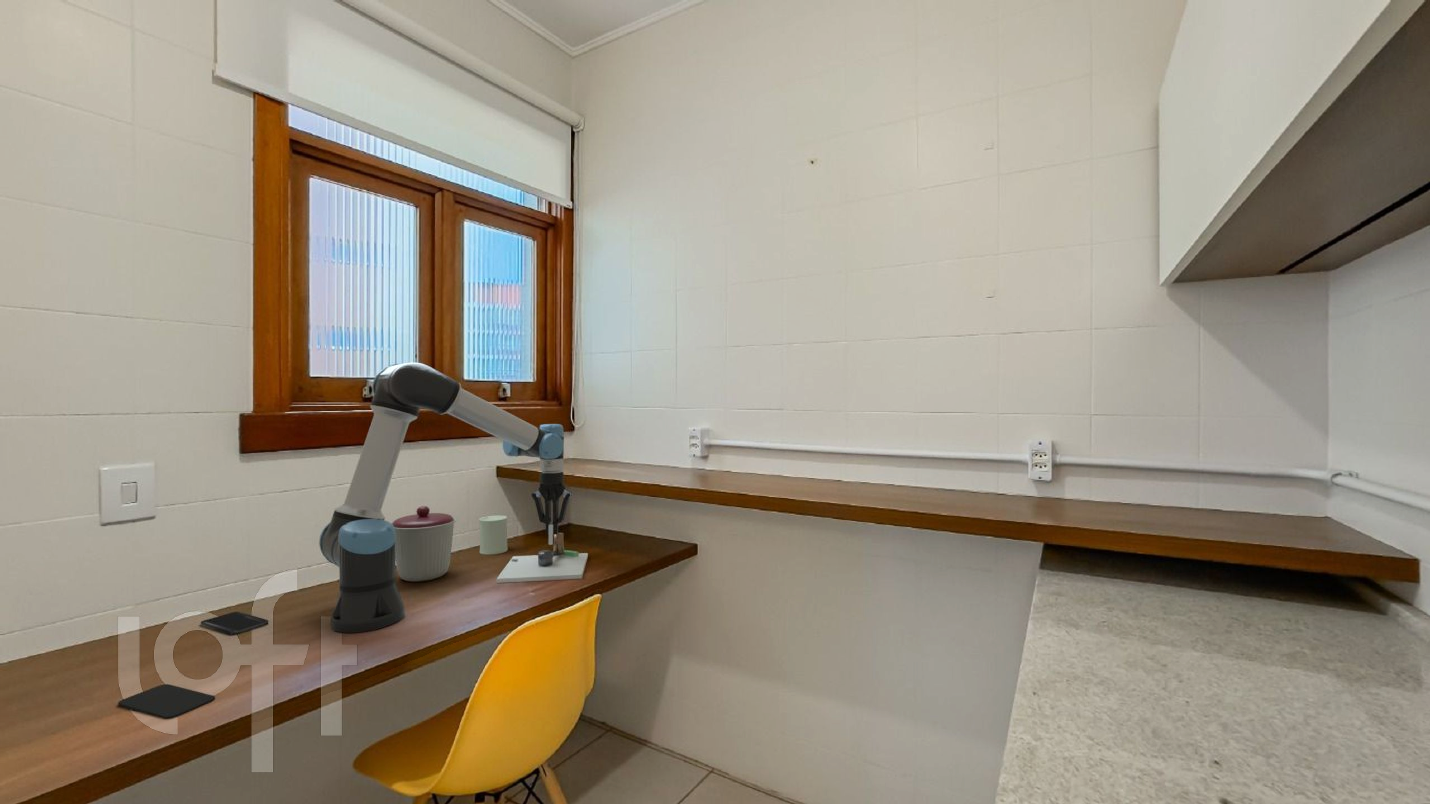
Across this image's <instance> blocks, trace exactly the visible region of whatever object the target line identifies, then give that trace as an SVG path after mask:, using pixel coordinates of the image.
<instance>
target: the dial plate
mask: <svg viewBox="0 0 1430 804" xmlns="http://www.w3.org/2000/svg"><path fill="white" fill-rule="evenodd" d="M588 556H589V553H587V552H584V553H583V552H581V553H580V552H579V551H576V550H566V549H565V550H564V555H561V556H554V557H553V564H552V565H549V566H539V565H538V554H537V555H536V554H535V555H514V556H512V557H511V558H510V560H509V562H508V563H507V564H506V565H505V567H504V568H503V569H502V571H501V572H500V574H499V575H498V576H497V578H496V584H503V583H523V582H541V581H558V580H560V581H561V580H577V579H578V580H579V579H580V580H582V578H583V576H584V572H585V568H586V565H587V560H588Z"/></svg>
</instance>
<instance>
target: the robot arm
mask: <svg viewBox="0 0 1430 804" xmlns="http://www.w3.org/2000/svg"><path fill="white" fill-rule="evenodd" d="M372 391H373V397H372V399H371V403H370V406H369V407H370V409H371V410H372V412H373V417H372V419H371V423H370V426H369V429H368V432H367V433H366V434H367V435H366V438H365V440H364V444H363V446H362V449H361V451H360V452H361V453H360V455H359V458H358V461H357V465H356V468H355V470H354V473H353V476H352V479H351V482H350V486H349V488H348V490H347V493H346V497H345V500H344V503H343V504H342V505H340V506H338V507H336V508H334V511H333V515H332V516H331V519H330V522H328V524H326V526H324V528H323V529H322V531H321V533H320V536H319V540H318V544H319V546H318V547H319V548H320V549H319V550H320V552H321V554H322V555H323V557H324V558H325V560H327V561H328V562H329V563H330V564H333V565H334V566H337V567H338V568H339V573H338V574H339V594H338V597H337V600H336V604H335V606H334V609H333V612H332V615H331V620H330V621H331V624H330V625H331V630H333V631H335V632H338V633H348V634H349V633H350V634H351V633H353V634H354V633H362V632H368V631H373V630H378V629H382V628H385V627H388V626H391V625H393V624H395V623H398V622H399V621H401V620H402V619H403V618H404V617H405V604H404V602H403V598H402V597H401V594H400V592H399V589H398V587H397V586H398V585H397V579H396V575H397V574H396V573H397V572H396V569H397V565H396V559H395V541H396V534H395V529H394V526H393V525H392V524H391V523H392V522H390V521H388V520H386V518H385V516H384V514H383V512H382V508H383V505H384V502H385V499H386V496H387V492H388V489H389V487H390V484H391V481H392V476H393V473H394V471H395V469H396V465H397V462H398V459H399V455H400V453H401V449H402V447H403V443H404V440H405V438H406V434H407V431H408V428H409V426H410V424H411V422H413V421H415V420H417V419H418V417H419V414H420V411H421V409H426V410H429V411H432V412H434V413H436V414H439V415H445V414H447V415H449V416H452V417H454V418H456V419H458V420H460V421H462V422H465V423H467V424H468V425H471V426H473V427H474V428H476V429H477V428H478V429H479V430H482V431H483V432H486V433H487V434H490V435H492V436H493V437H497V438H499V439H501V440H502V450H503V452H504V454H505V455H506V456H508V457H517V458H518V457H519V456H520V457H528V458H529V457H530V458H539V471H541V472H540V473H539V486H538V490H536V491H535V492H532V493H531V497H532V499H533V500H534V503H535V507H536V511H537V515H538V519H539V522H540V523H543V524H544V525H545V534H546V535H548V545H549V546H553V534H557V533H559V524H560V523H562V522H563V521H564V520H565V516H566V512H567V508H568V506H569V501H570V499H571V497H572V495H573V493H572V492H569V491H567V490H566V486H565V484H564V479H565V478H564V477H565V474H564V473H565V472H564V470H565V469H564V468H565V464H564V454H565V453H564V451H565V448H564V446H565V445H564V444H565V441H564V439H565V434H564V426H563V425H562V424H559V423H546V424H540V425H539V427H537V426H535V425H534V424H531V423H529V422H527V421H525V420H523V419H521V418H519V417H518V416H516V415H513V414H512V413H510V412H508V411H506V410H504V409H502V408H500V407H498V406H496V405H494V404H492V403H491V402H488V401H487V400H485V399H483V398H481V397H479V396H477V395H475V394H474V393H471V392H470V391H468V390H465V389H463V388H462V385H461V383H460V382H458V381H457V380H455V379H453V378H452V377H449V376H447V375H446V374H445V373H442V372H440V371H439V370H437V369H435V368H433V367H431V366H429V365H427V364H425V363H422V362H407V363H406V362H405V363H394V364H390V365H388V366H385V367H384V368H382V369H381V370H380V371H379V372H378V373H377V374H376V376H375V377H374V379H373V382H372ZM541 496H542V497H543V500H544V506H543V503H542V498H541ZM561 497H563V499H562V503H561V508H560V507H559V506H560V505H559V503H560V499H561Z"/></svg>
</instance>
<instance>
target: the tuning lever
mask: <svg viewBox="0 0 1430 804" xmlns="http://www.w3.org/2000/svg"><path fill="white" fill-rule="evenodd" d="M552 546H553V547H552V548H553V550H551V549H542V550H540V551H538V552H537V555H538V565H539V566H549V565H552V564H553V557H554V556H561V555H564V550H566V549H565V547H564V533H563V532H558V533H557V534H553V545H552Z"/></svg>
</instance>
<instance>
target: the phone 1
mask: <svg viewBox="0 0 1430 804" xmlns="http://www.w3.org/2000/svg"><path fill="white" fill-rule="evenodd" d="M215 700H216V696H215V695H211V694H208V693H205V692H200V691H196V690H193V689H188V688H185V687H180V686H177V685H173V684H169V683H166V684H165V683H163V684H160V685H157V686H154V687H151V688H149V689H147V690H143V691H142V692H141V691H140V692H139V693H136V694H133V695H130V696H128V697H126V698H122V699H121V700H120V701H118V702H117V704H118V705H117V706H118V707H119V708H123V709H126V710H128V711H129V710H131V711H133V712H137V713H141V714H146V715H148V716H149V715H150V716H153V717H156V718H161V719H164V720H170V719H174V718H178V717H180V716H183V715H185V714H187V713H188V712H191V711H194V710H196V709H198V708H201V707H203V706H205V705H207V704H210V703H212V702H214V701H215Z"/></svg>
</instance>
